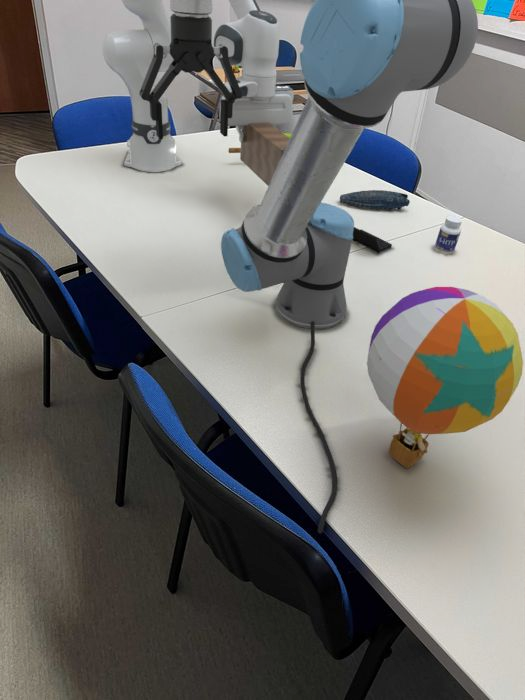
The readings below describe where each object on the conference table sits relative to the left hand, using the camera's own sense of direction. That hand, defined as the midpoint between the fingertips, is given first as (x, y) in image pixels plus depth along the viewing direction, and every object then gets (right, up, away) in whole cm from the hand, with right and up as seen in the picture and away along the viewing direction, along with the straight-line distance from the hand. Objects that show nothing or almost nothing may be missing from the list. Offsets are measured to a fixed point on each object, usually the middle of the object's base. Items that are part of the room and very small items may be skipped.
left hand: (255, 141), depth 143 cm
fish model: (+36, -13, +17) cm, 42 cm away
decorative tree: (+5, +7, +39) cm, 40 cm away
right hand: (-12, -13, -36) cm, 40 cm away
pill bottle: (+51, -31, -3) cm, 60 cm away
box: (+3, -11, -3) cm, 12 cm away
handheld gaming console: (+30, -29, -4) cm, 42 cm away
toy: (+24, -75, -61) cm, 100 cm away
